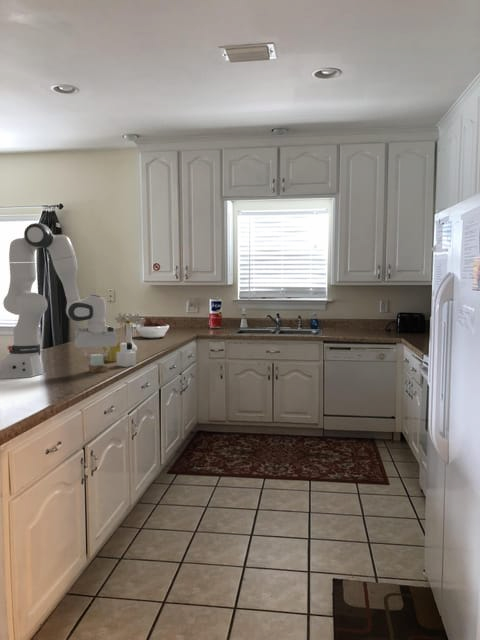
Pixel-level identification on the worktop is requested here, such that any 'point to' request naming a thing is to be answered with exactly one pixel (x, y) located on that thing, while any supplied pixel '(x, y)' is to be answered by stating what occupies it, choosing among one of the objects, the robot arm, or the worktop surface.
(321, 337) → the worktop surface
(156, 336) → the white bowl
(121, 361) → the medicine bottle
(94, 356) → the cube
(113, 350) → the plant pot
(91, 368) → the block
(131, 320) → the flower vase
